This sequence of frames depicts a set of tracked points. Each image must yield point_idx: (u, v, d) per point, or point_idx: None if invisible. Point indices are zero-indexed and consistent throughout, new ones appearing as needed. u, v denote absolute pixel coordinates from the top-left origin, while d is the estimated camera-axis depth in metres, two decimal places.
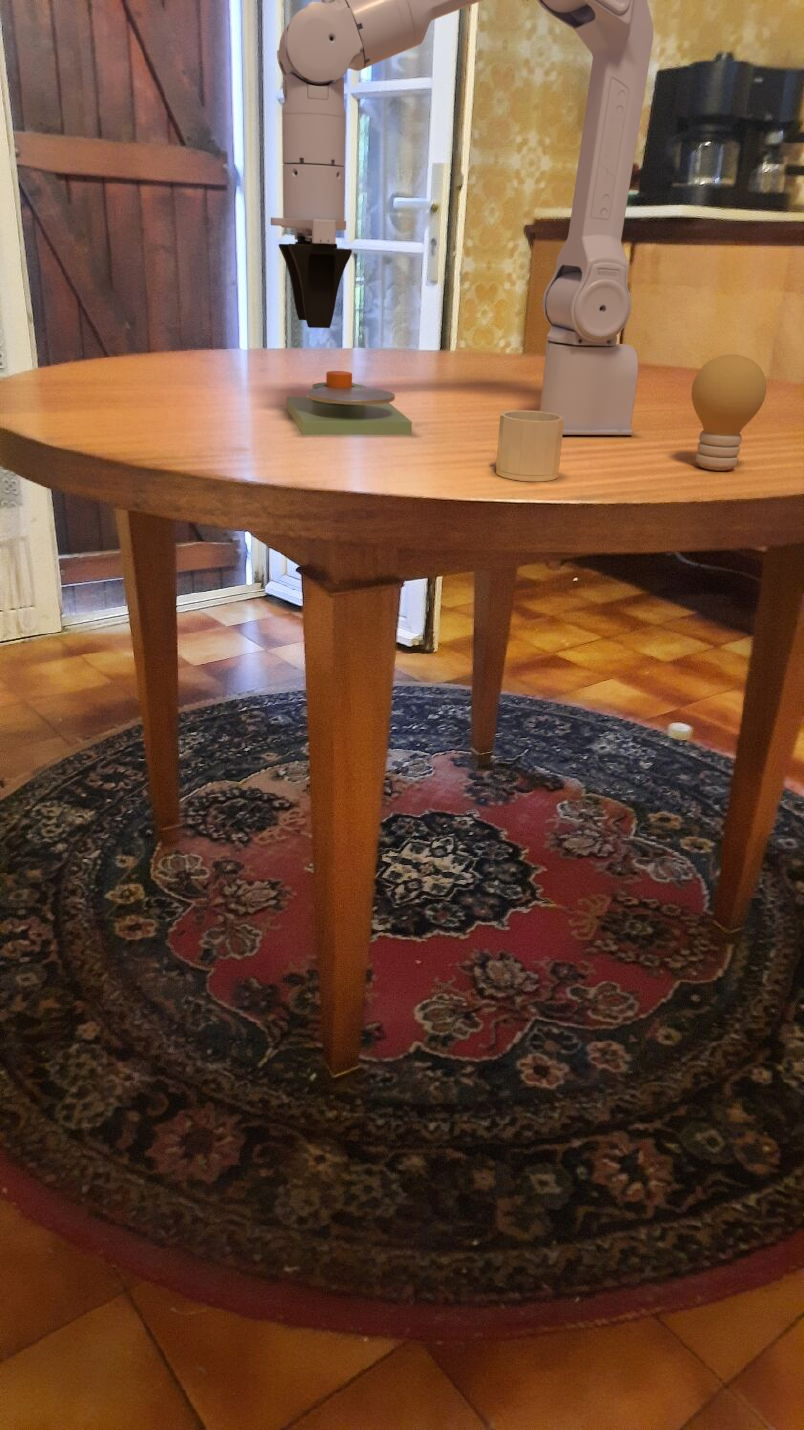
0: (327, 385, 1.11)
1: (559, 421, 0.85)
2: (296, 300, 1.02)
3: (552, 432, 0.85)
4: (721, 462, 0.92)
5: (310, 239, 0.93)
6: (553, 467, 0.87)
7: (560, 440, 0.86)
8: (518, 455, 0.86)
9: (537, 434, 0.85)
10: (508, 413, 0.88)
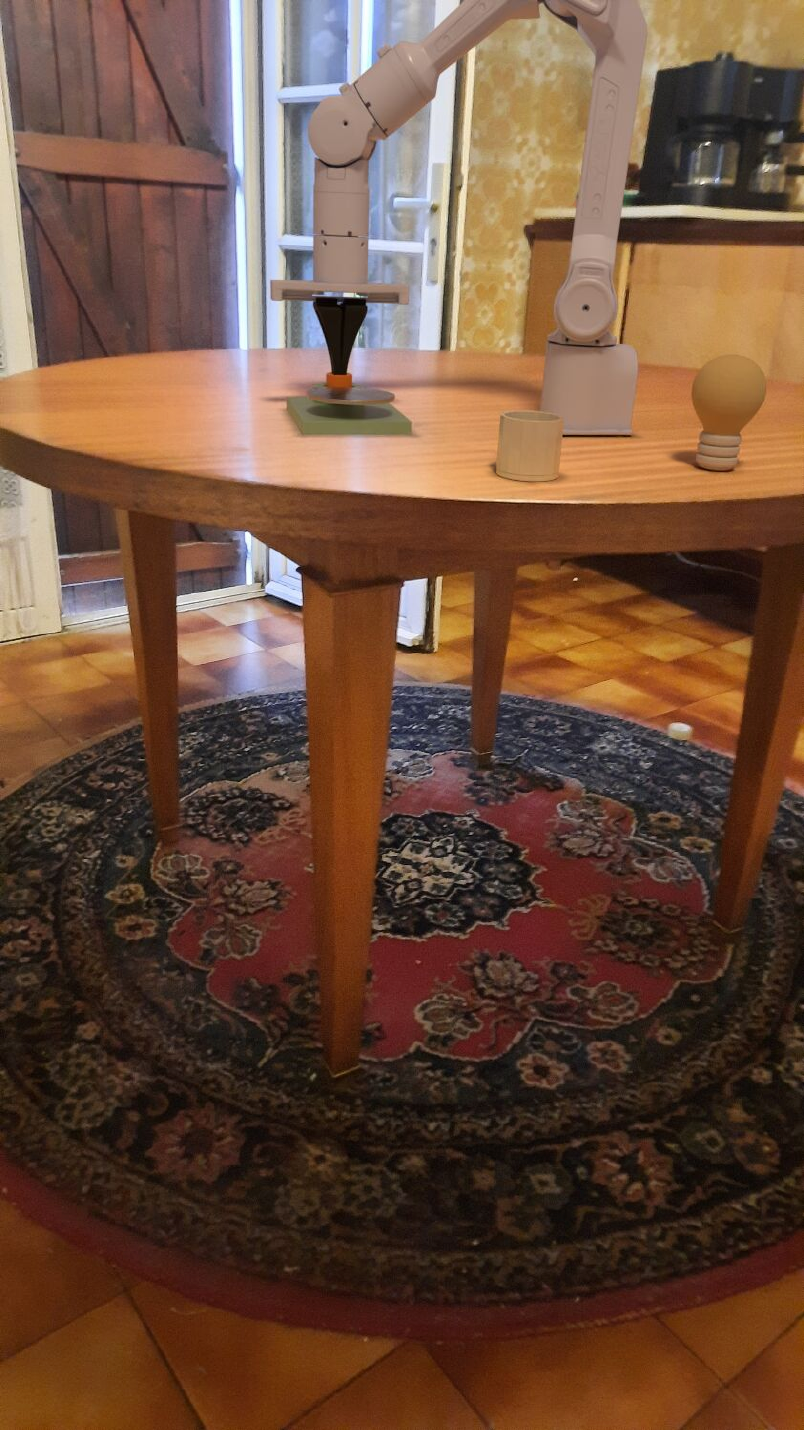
0: (327, 386, 1.11)
1: (559, 421, 0.85)
2: None
3: (552, 432, 0.85)
4: (721, 462, 0.92)
5: None
6: (553, 467, 0.87)
7: (560, 440, 0.86)
8: (518, 455, 0.86)
9: (537, 434, 0.85)
10: (508, 413, 0.88)
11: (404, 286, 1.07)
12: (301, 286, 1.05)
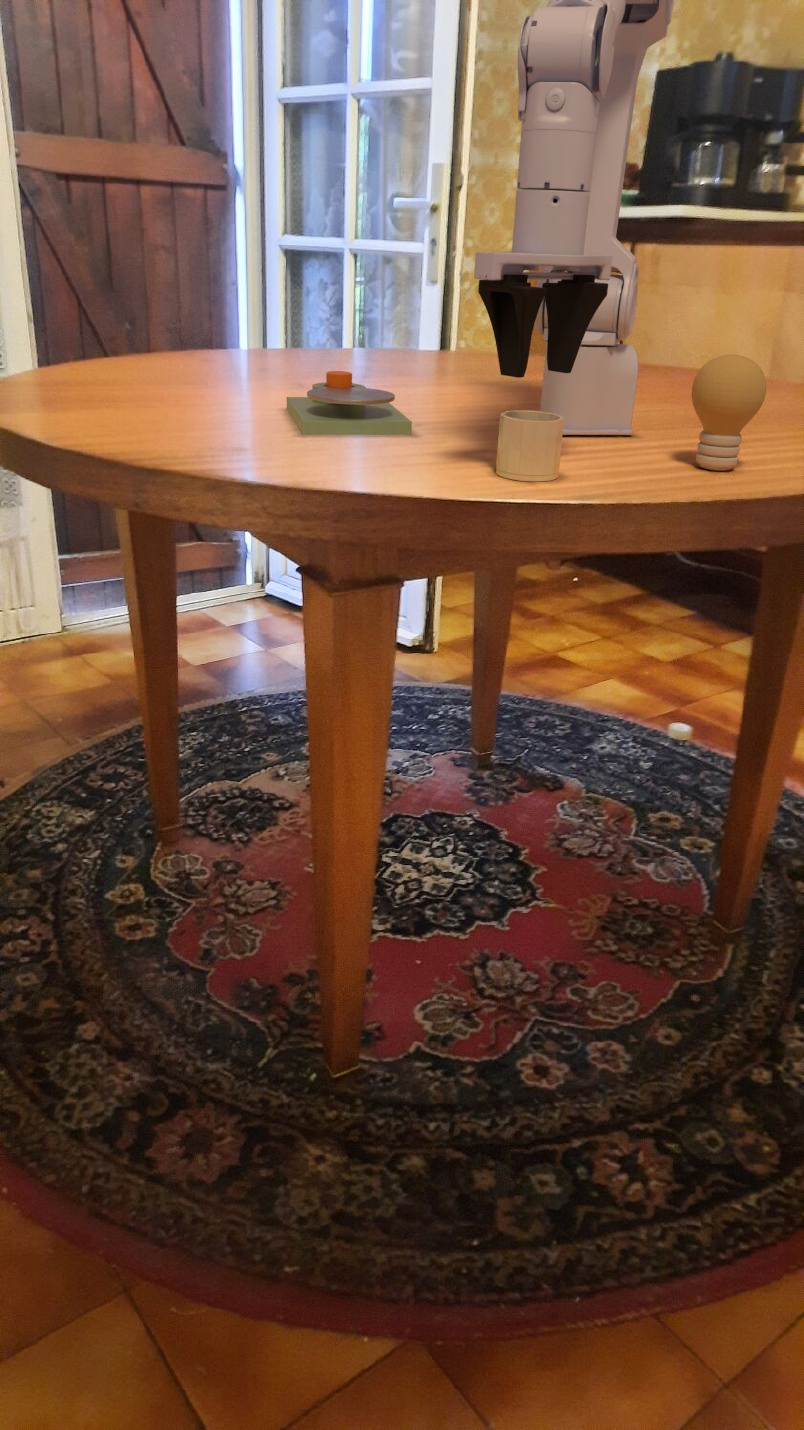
0: (327, 385, 1.11)
1: (559, 421, 0.85)
2: (548, 347, 0.87)
3: (552, 432, 0.85)
4: (721, 462, 0.92)
5: None
6: (553, 467, 0.87)
7: (560, 440, 0.86)
8: (518, 455, 0.86)
9: (537, 434, 0.85)
10: (508, 413, 0.88)
11: (608, 256, 0.85)
12: (527, 259, 0.78)
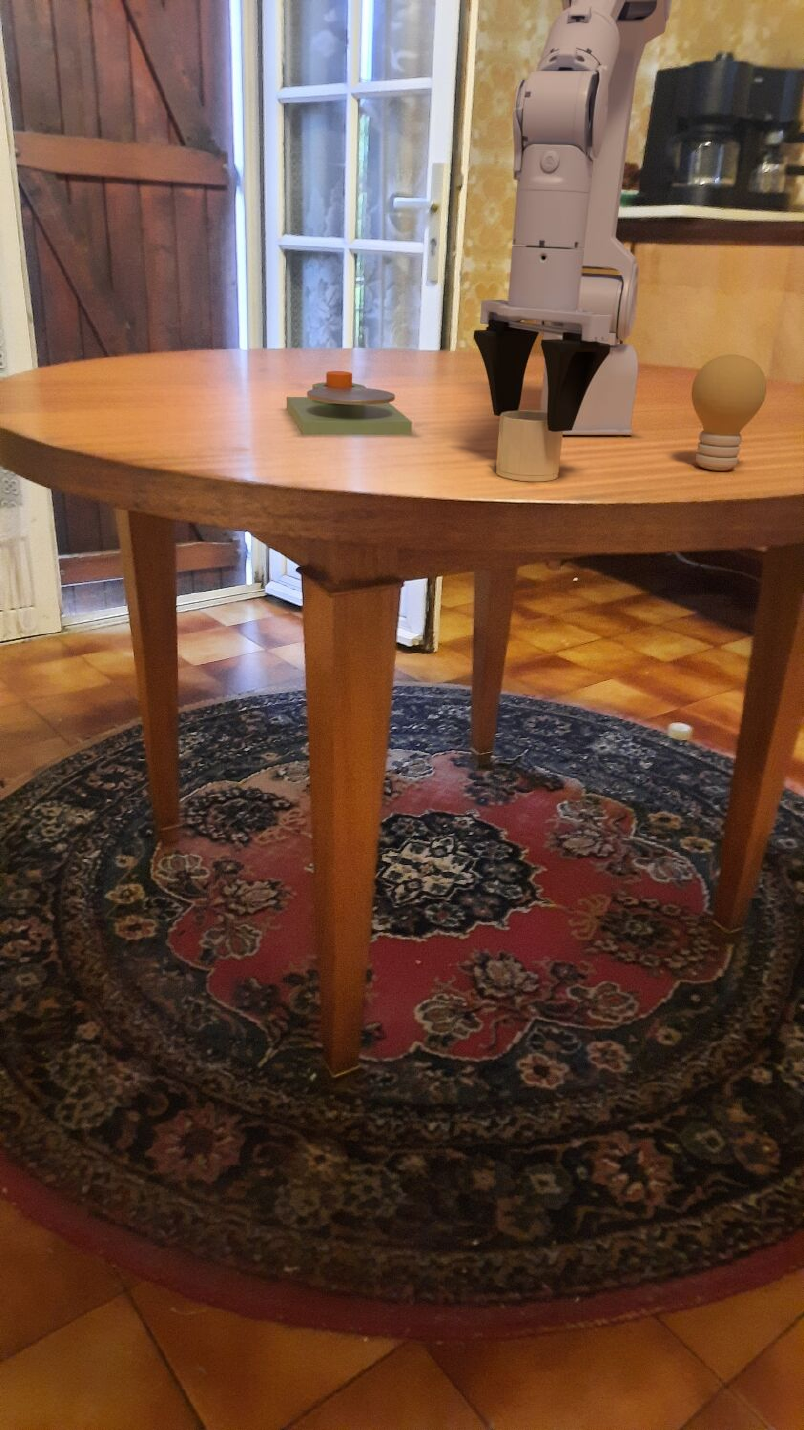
0: (327, 385, 1.11)
1: None
2: (496, 394, 0.88)
3: (552, 432, 0.85)
4: (721, 462, 0.92)
5: (565, 334, 0.80)
6: (553, 467, 0.87)
7: (560, 440, 0.86)
8: (518, 455, 0.86)
9: (537, 434, 0.85)
10: (508, 413, 0.88)
11: (503, 301, 0.89)
12: None
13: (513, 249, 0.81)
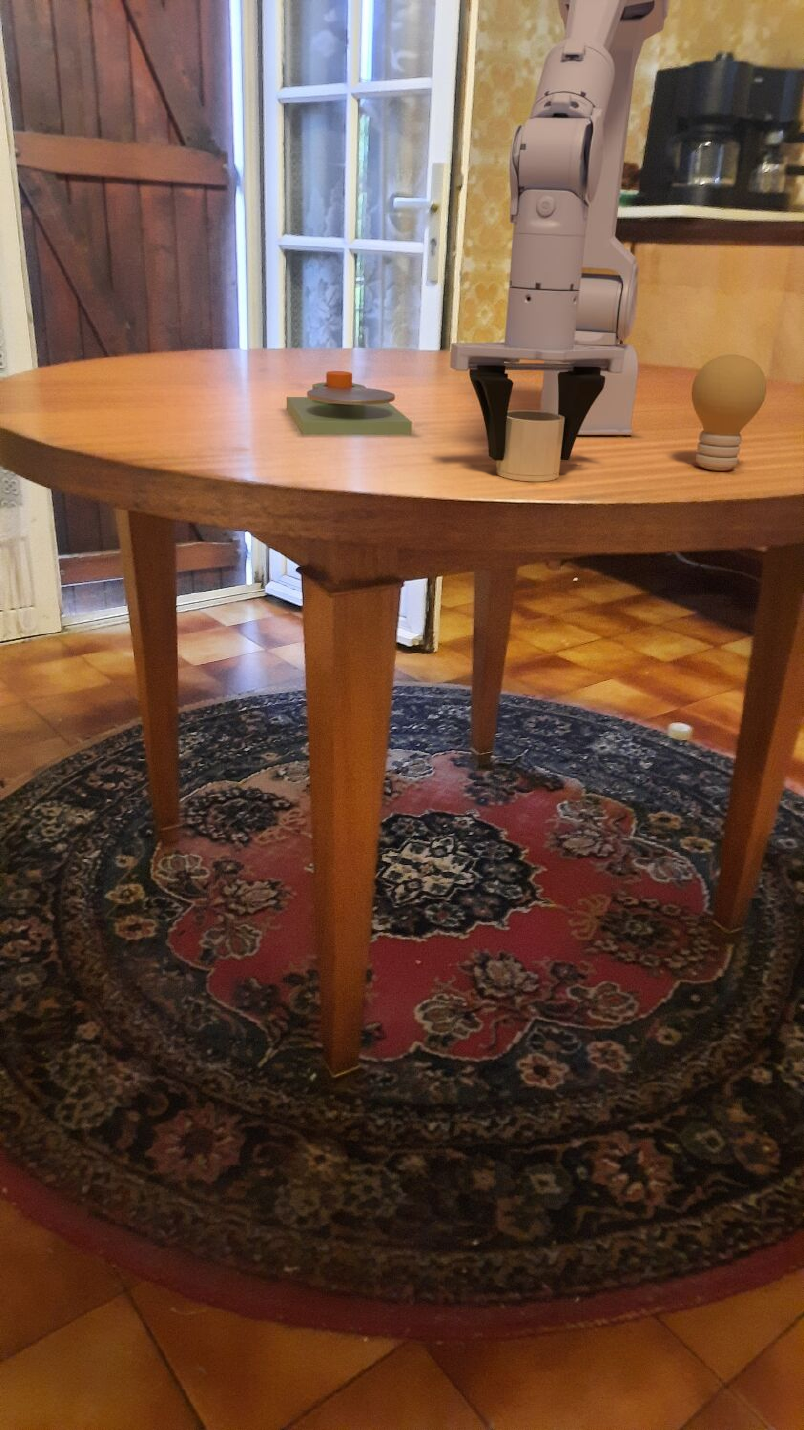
0: (327, 385, 1.11)
1: (559, 421, 0.85)
2: (504, 439, 0.86)
3: (552, 432, 0.85)
4: (721, 462, 0.92)
5: (578, 368, 0.85)
6: (553, 467, 0.87)
7: (560, 440, 0.86)
8: (518, 455, 0.86)
9: (537, 434, 0.85)
10: (508, 413, 0.88)
11: (457, 344, 0.84)
12: None
13: (542, 293, 0.80)
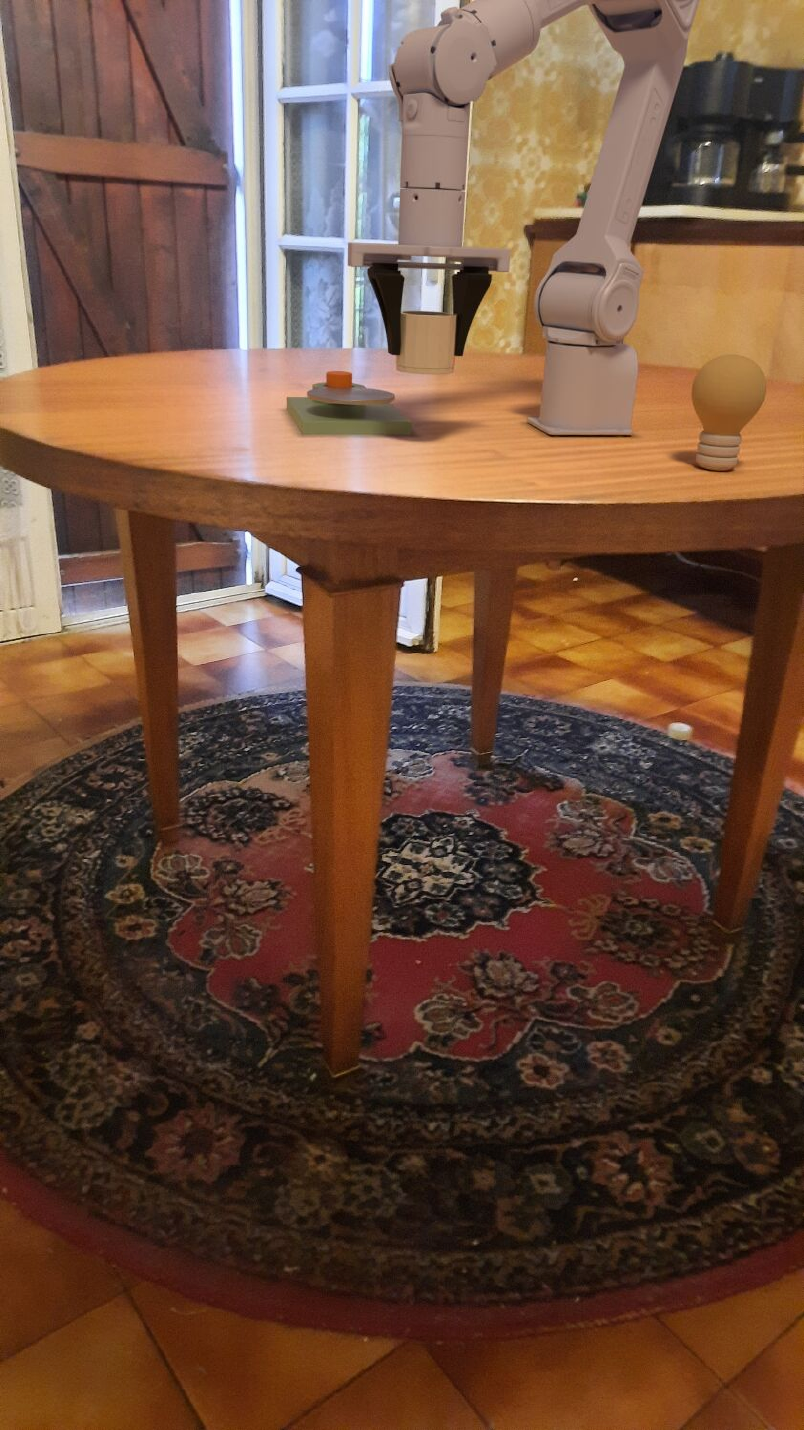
0: (327, 385, 1.11)
1: (451, 317, 0.92)
2: (400, 334, 0.92)
3: (444, 327, 0.91)
4: (721, 462, 0.92)
5: (467, 267, 0.91)
6: (447, 361, 0.93)
7: (453, 336, 0.93)
8: (413, 349, 0.92)
9: (430, 328, 0.91)
10: (406, 312, 0.94)
11: None
12: None
13: (427, 192, 0.86)
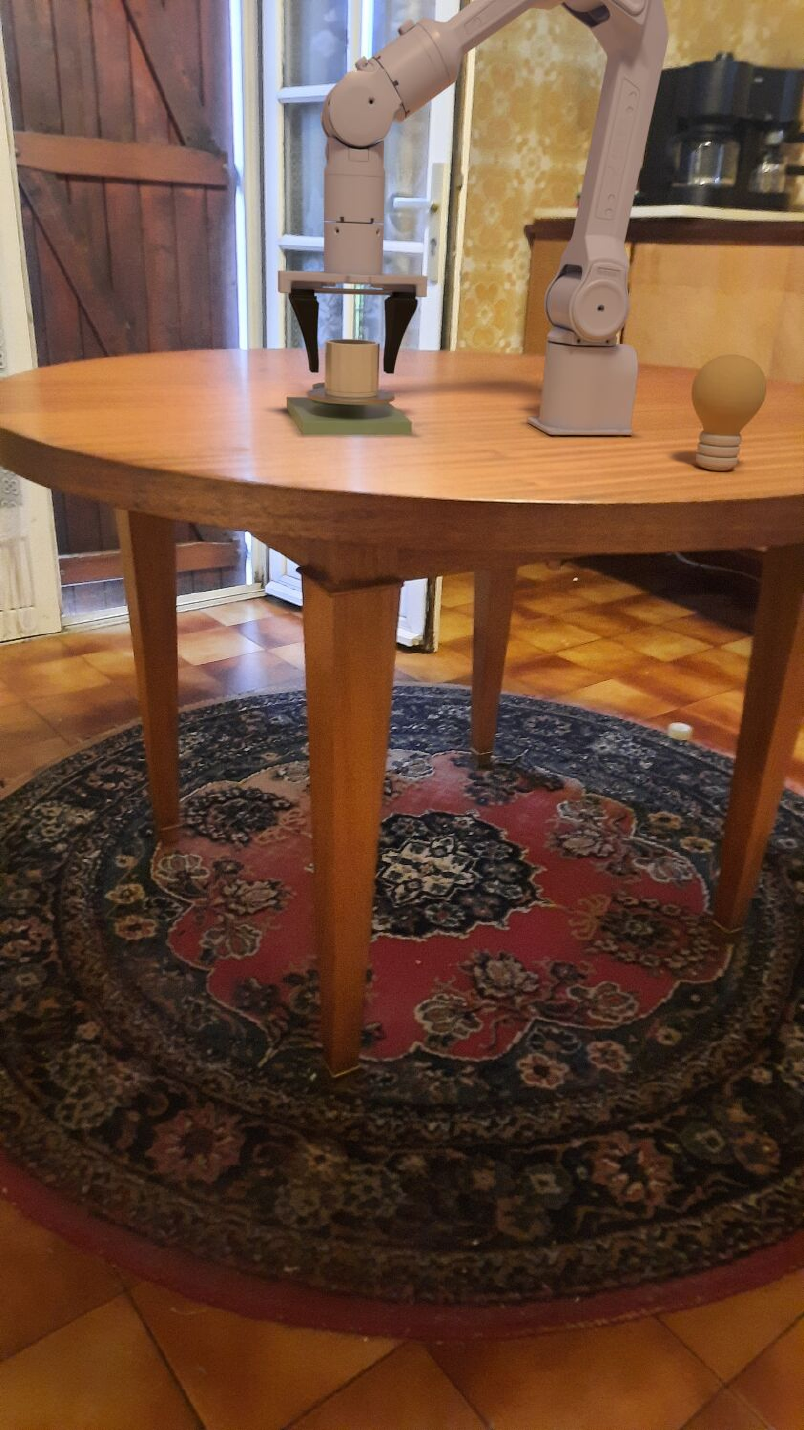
0: None
1: (372, 345, 1.01)
2: None
3: (366, 354, 1.00)
4: (721, 462, 0.92)
5: (396, 293, 1.00)
6: (370, 386, 1.02)
7: (375, 362, 1.02)
8: (338, 374, 1.01)
9: (352, 356, 1.00)
10: (334, 340, 1.03)
11: None
12: None
13: (347, 226, 0.95)
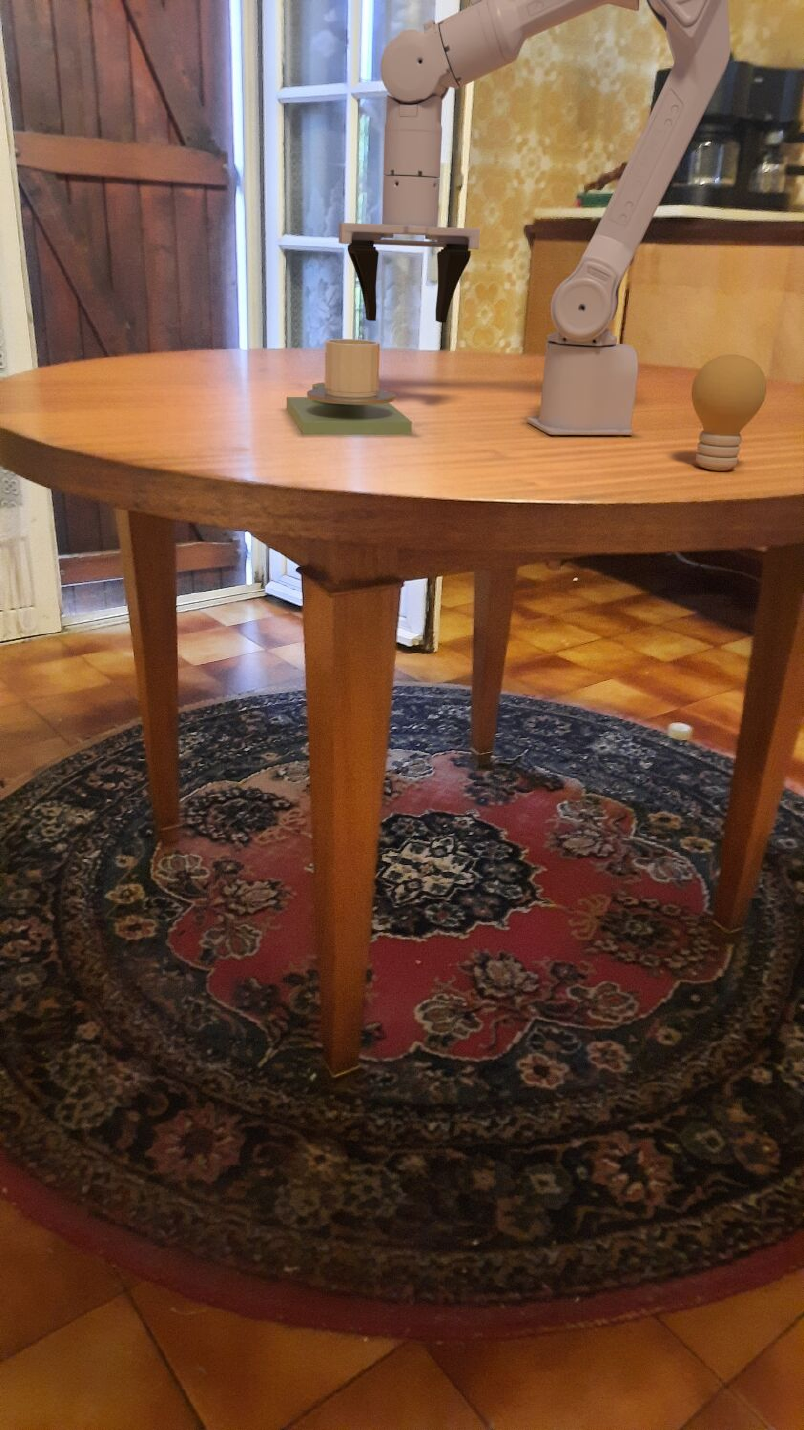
0: None
1: (372, 345, 1.01)
2: (375, 302, 1.06)
3: (366, 354, 1.00)
4: (721, 462, 0.92)
5: (449, 245, 1.06)
6: (370, 386, 1.02)
7: (375, 362, 1.02)
8: (338, 374, 1.01)
9: (352, 356, 1.00)
10: (334, 340, 1.03)
11: None
12: None
13: (406, 179, 1.01)
